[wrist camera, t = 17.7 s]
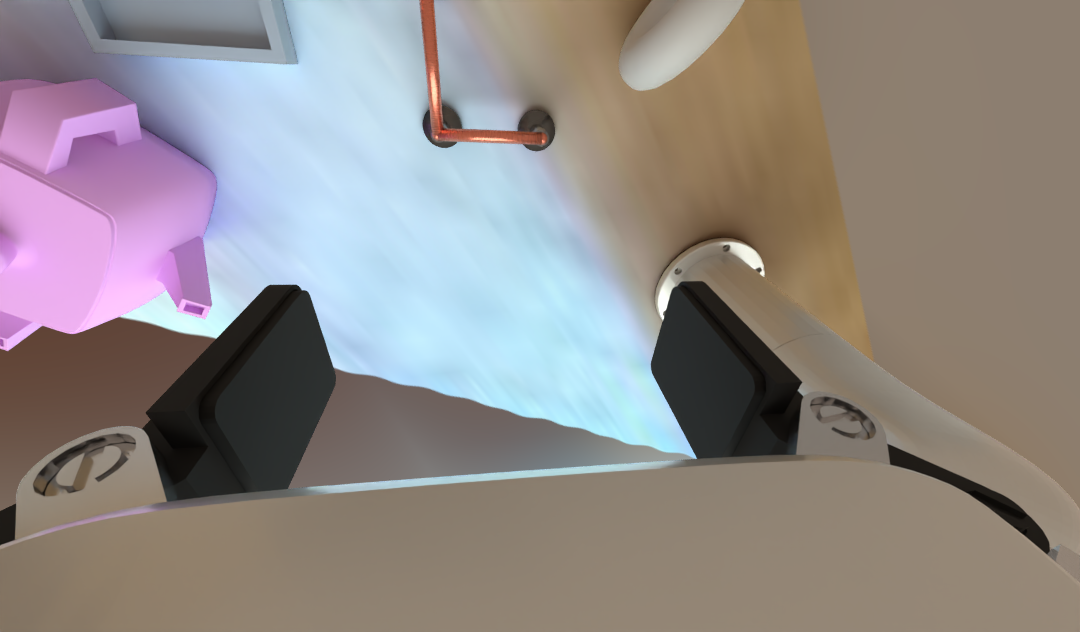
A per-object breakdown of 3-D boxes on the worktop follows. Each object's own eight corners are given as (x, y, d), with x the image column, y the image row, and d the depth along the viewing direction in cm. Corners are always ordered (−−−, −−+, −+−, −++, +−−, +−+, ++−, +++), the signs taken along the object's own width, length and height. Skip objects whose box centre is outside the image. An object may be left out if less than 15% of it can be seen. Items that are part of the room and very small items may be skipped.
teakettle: (163, 67, 28) (-19, 71, 18) (273, 270, 38) (195, 348, 28) (-82, 91, 27) (-419, 110, 17) (94, 293, 37) (-55, 382, 27)
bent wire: (552, 150, 35) (560, 161, 31) (327, 142, 32) (307, 153, 28) (566, -48, 27) (578, -64, 24) (276, -77, 25) (239, -101, 21)
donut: (690, -62, 28) (776, -113, 19) (717, -21, 29) (808, -52, 21) (595, 65, 31) (634, 68, 23) (623, 96, 33) (669, 109, 25)
